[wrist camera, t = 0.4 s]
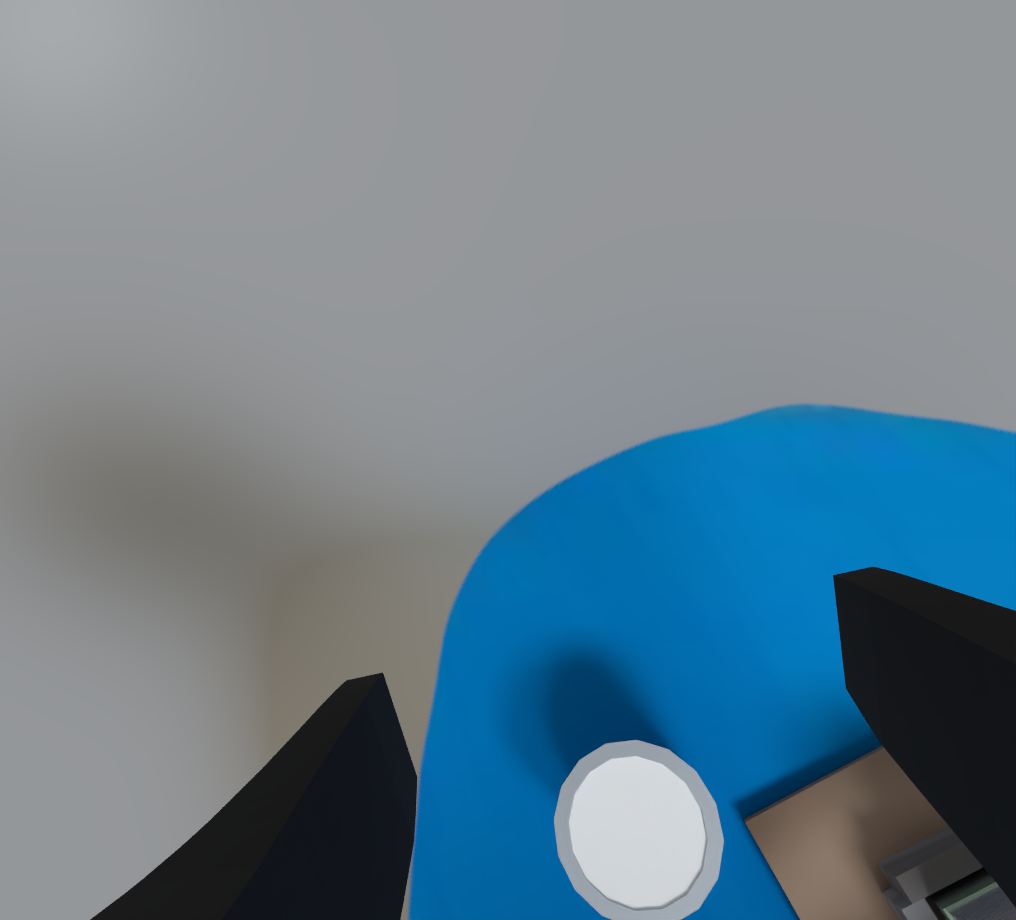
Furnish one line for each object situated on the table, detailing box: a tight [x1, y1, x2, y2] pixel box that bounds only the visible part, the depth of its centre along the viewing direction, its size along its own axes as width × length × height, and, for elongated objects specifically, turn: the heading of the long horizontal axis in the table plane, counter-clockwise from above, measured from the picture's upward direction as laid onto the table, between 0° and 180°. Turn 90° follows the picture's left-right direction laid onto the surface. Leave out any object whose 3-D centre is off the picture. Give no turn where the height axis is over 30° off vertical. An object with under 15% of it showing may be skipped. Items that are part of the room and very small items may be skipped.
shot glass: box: [554, 740, 724, 920], centre depth 30 cm, size 7×7×7 cm
